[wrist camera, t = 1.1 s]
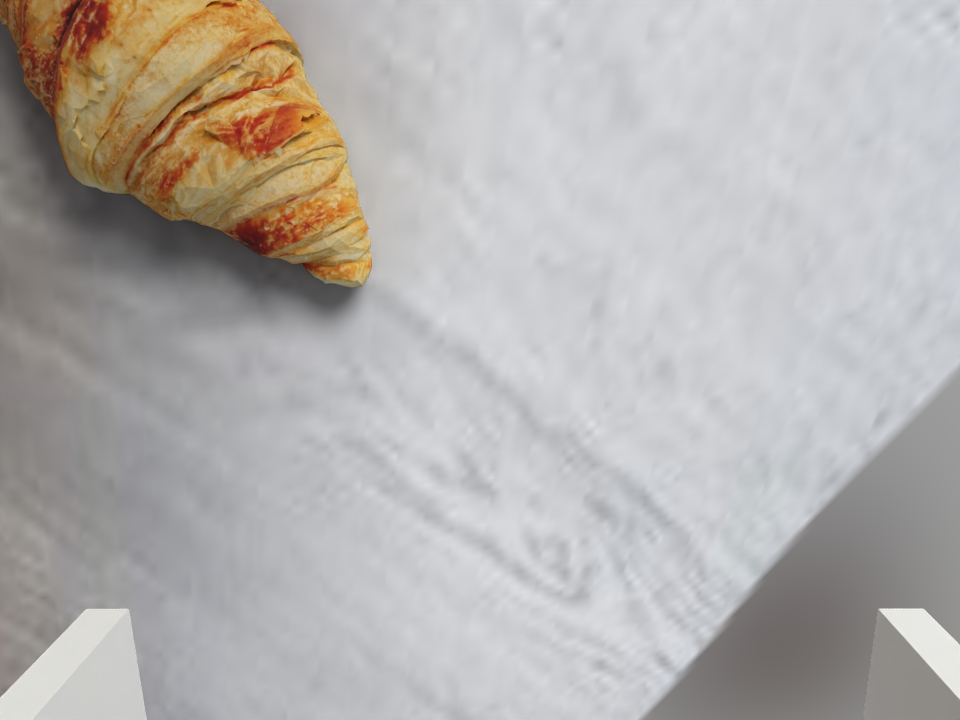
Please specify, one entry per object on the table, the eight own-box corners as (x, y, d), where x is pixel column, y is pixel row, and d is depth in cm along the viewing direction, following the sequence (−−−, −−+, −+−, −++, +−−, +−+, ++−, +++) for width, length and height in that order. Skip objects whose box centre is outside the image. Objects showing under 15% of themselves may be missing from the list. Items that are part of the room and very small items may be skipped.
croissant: (410, 233, 36) (478, 171, 28) (274, 374, 31) (314, 341, 24) (72, -110, 31) (53, -286, 24) (-140, 1, 27) (-239, -173, 20)
